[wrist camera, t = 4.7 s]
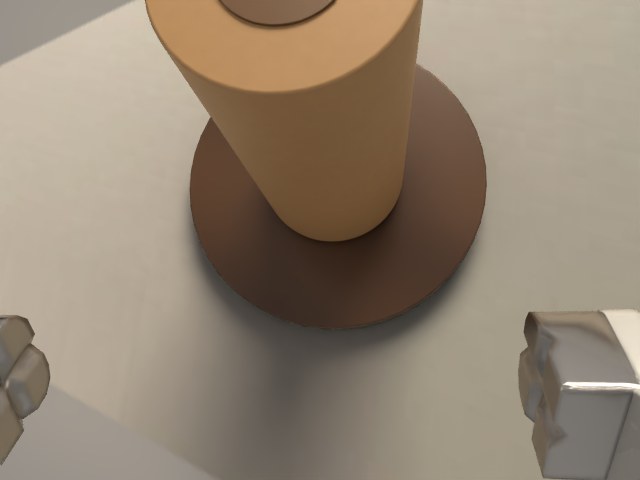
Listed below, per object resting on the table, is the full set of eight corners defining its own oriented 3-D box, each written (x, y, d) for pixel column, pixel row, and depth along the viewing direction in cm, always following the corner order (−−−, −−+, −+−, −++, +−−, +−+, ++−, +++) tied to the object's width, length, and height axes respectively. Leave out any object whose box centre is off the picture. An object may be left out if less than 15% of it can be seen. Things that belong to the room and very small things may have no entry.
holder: (375, 391, 25) (375, 392, 24) (142, 224, 28) (129, 216, 27) (538, 144, 27) (547, 131, 26) (302, 11, 30) (298, -7, 28)
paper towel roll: (351, 269, 25) (315, 148, 11) (234, 191, 26) (77, 0, 13) (430, 154, 26) (485, -88, 12) (312, 85, 27) (243, -203, 14)
